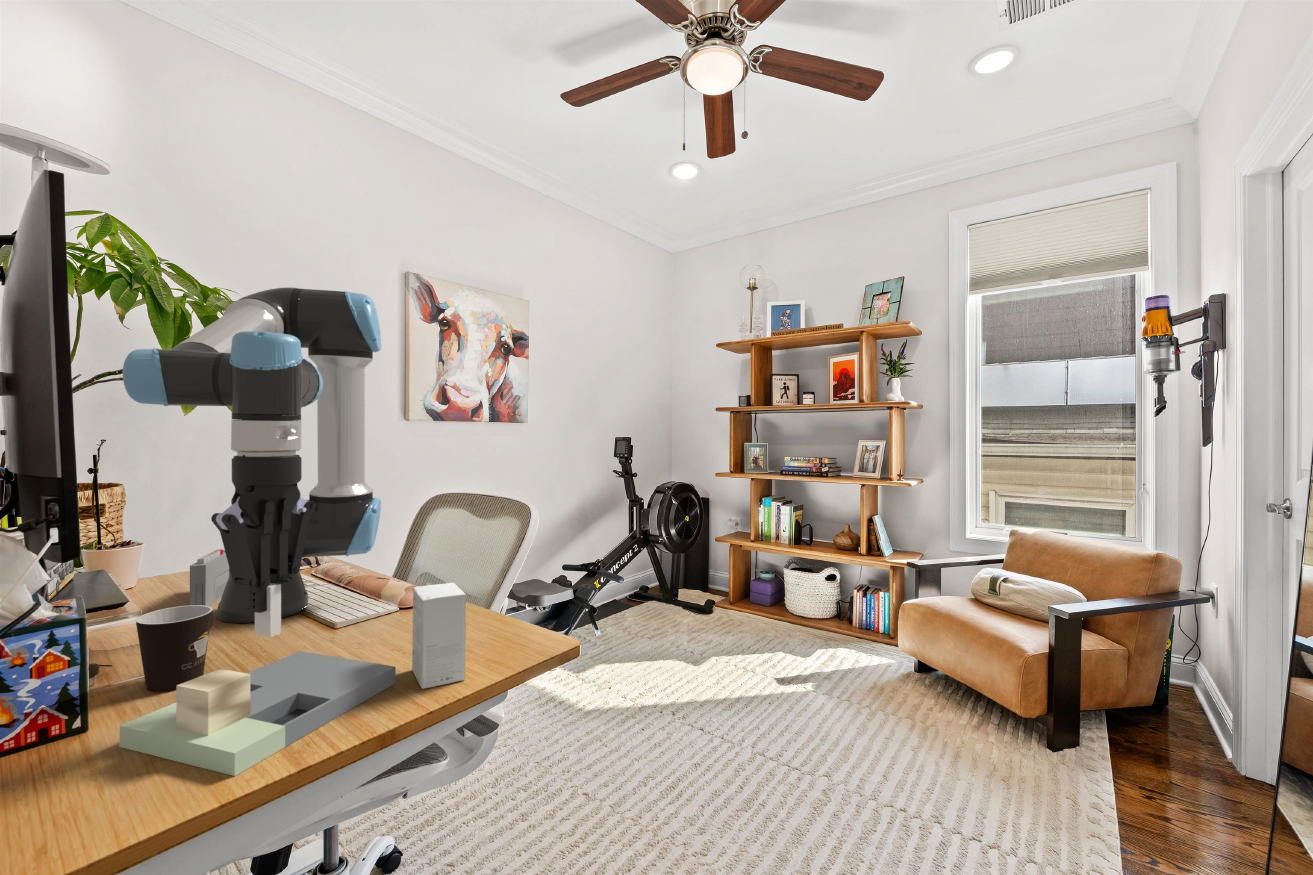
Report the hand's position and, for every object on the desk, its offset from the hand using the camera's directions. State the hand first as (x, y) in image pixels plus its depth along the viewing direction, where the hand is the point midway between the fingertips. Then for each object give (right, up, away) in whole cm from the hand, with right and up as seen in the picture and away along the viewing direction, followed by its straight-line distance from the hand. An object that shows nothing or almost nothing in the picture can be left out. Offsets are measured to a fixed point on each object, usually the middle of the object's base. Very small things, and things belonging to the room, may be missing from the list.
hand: (267, 633), depth 76 cm
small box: (+18, -11, +13) cm, 24 cm away
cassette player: (-44, -9, +49) cm, 67 cm away
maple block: (-2, -8, -7) cm, 11 cm away
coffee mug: (-19, -10, +10) cm, 24 cm away
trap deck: (0, -11, +1) cm, 11 cm away
